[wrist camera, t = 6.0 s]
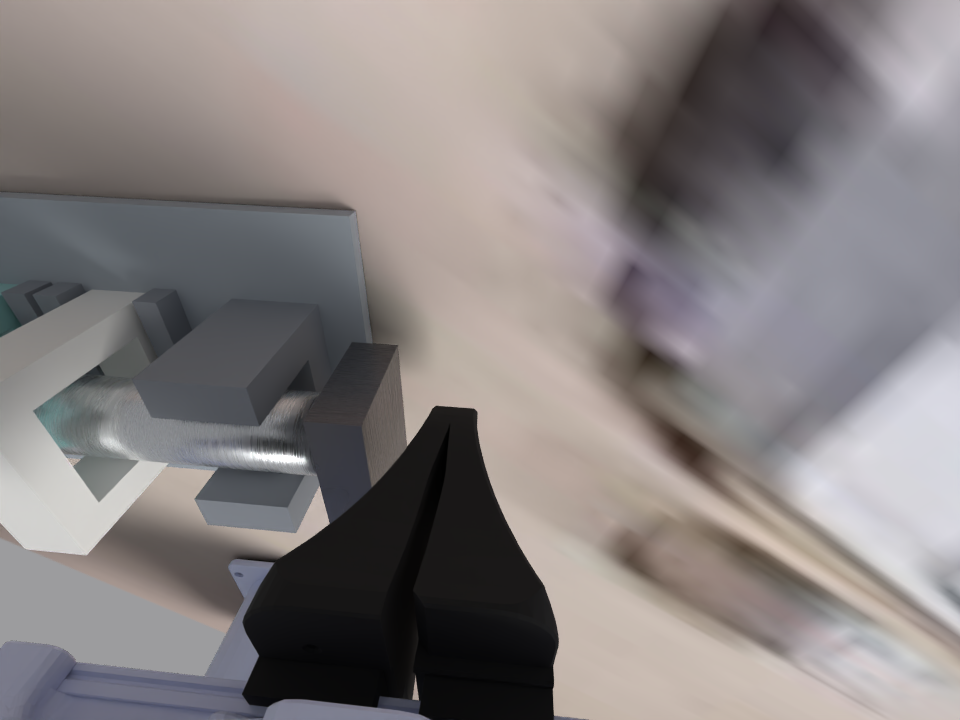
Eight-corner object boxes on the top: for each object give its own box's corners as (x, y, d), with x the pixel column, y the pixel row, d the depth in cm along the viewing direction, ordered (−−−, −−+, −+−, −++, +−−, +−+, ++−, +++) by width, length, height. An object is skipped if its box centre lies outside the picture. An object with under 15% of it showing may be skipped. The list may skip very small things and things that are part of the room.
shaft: (407, 447, 17) (379, 536, 13) (23, 415, 17) (-86, 492, 14) (397, 345, 14) (361, 426, 11) (-53, 313, 15) (-207, 380, 12)
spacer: (204, 422, 18) (86, 555, 13) (158, 419, 18) (25, 549, 14) (147, 293, 15) (-38, 405, 10) (92, 289, 15) (-119, 399, 10)
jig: (389, 475, 20) (353, 586, 16) (-16, 440, 21) (-153, 535, 17) (355, 210, 13) (276, 280, 9) (-237, 178, 14) (-557, 227, 10)
